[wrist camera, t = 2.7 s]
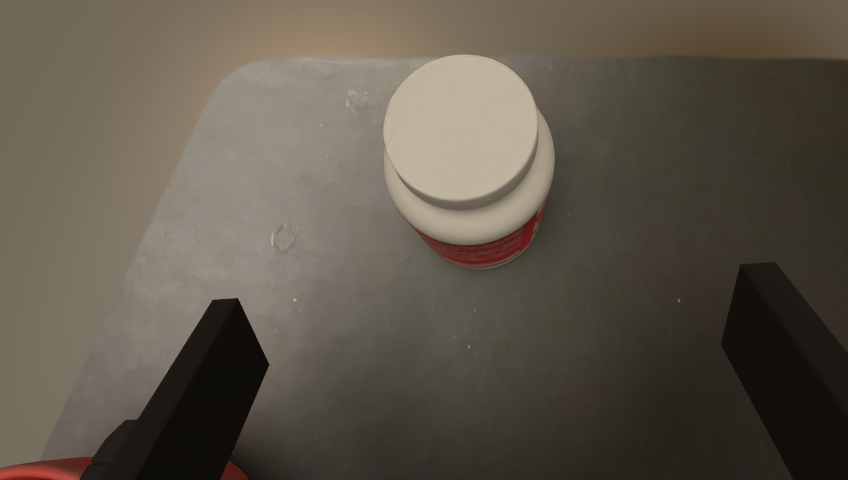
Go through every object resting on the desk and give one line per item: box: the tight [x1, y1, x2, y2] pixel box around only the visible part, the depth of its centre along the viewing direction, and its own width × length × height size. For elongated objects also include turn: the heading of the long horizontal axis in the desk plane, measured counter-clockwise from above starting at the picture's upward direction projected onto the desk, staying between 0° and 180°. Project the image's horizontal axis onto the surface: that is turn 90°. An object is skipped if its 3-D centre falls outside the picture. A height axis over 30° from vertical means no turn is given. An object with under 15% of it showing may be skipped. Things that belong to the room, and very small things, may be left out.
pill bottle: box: [383, 55, 555, 270], centre depth 20 cm, size 6×6×11 cm
